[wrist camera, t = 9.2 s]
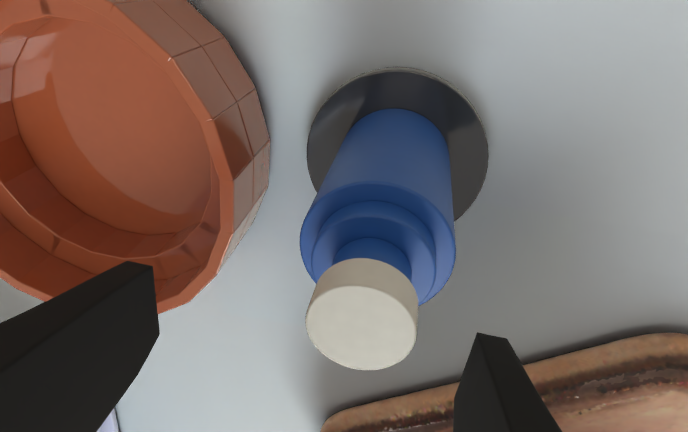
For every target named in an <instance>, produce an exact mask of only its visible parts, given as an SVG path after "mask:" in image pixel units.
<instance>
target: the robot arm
mask: <svg viewBox="0 0 688 432" xmlns="http://www.w3.org/2000/svg"><path fill="white" fill-rule="evenodd" d="M159 334H160V333H159V323H158V313H157V303H156V293H155V283H154V273H153V266H150V265H146V264H141V263H136V262H131V261H125V262H123V263H121V264H119V265H117V266H115V267H113V268H111V269H109V270H107V271H105V272H103V273H101V274H99V275H97V276H95V277H93V278H91V279H89V280H87V281H85V282H83V283H81V284H79V285H77V286H75V287H73V288H71V289H69V290H68V291H66V292H64V293H62V294H60V295H58V296H56V297H54V298H52V299H50V300H48V301H46V302H44V303H42V304H40V305H38V306H36V307H34V308H32V309H30V310H28V311H26V312H24V313H22V314H19V315H17V316H15V317H13V318H11V319H9V320H7V321H4V322H2V323H0V432H119V429H118V424H117V419H116V414H115V409H114V407H115V406H116V404H117V403H118V402H119V400H120V399H121V397H122V396H123V395H124V393H125V392H126V390H127V389H128V388H129V386H130V385H131V383H132V382H133V380H134V379H135V378H136V376H137V375H138V373H139V371H140V369H141V368H142V366H143V364H144V362H145V361H146V359H147V357H148V355H149V353H150V351H151V349H152V348H153V346H154V344H155V342H156V340H157V338H158V336H159ZM453 432H562V430H561V429H560V427H559V426H558V424H557V422H556V421H555V419H554V418H553V416H552V415H551V413H550V411H549V410H548V408H547V406H546V405H545V403H544V402H543V400H542V398H541V397H540V395H539V393H538V391H537V390H536V388H535V386H534V385H533V383H532V381H531V380H530V378H529V376H528V374H527V373H526V371H525V369H524V367H523V366H522V364H521V362H520V360H519V359H518V357H517V355H516V353H515V352H514V350H513V348H512V346H511V345H510V343H509V342H508V340H507V339H506V338H501V337H496V336H491V335H486V334H481V333H477V335H476V338H475V340H474V343H473V346H472V349H471V352H470V355H469V357H468V360H467V363H466V366H465V369H464V371H463V374H462V377H461V380H460V383H459V386H458V388H457V391H456V394H455V397H454V415H453Z"/></svg>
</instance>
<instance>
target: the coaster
mask: <svg viewBox="0 0 688 432" xmlns="http://www.w3.org/2000/svg"><path fill="white" fill-rule="evenodd" d="M384 109H405V110H409V111H412V112H415V113H418V114H420V115H421V116H423V117H425V118H426V119H428V120H429V121H431V122H432V123H433V124H434V125H435V126H436V127H437V128H438V130H439V131H440V132H441V134H442V135H443V137H444V139H445V141H446V144H447V147H448V151H449V159H450V173H451V187H452V201H453V215H454V221H455V220H457V219H458V218H459V217H460V216H462V215H463V214H464V212H465V211H466V210H467V209H468V208H469V207H470V206H471V204H472V203H473V202H474V200H475V199H476V197H477V196H478V194H479V192H480V190H481V188H482V185H483V183H484V180H485V177H486V172H487V168H488V144H487V139H486V135H485V131H484V127H483V125H482V122H481V120H480V117H479V115H478V114H477V112H476V110H475V108H474V107H473V105H472V104H471V103H470V101H469V100H468V99H467V97H466V96H465V95H464V94H463V93H462V92H461V91H460V90H458V89H457V88H456V87H455V86H453V85H452V84H451V83H449V82H448V81H446V80H444V79H442V78H441V77H439V76H437V75H434V74H432V73H429V72H427V71H423V70H419V69H415V68H407V67H386V68H381V69H375V70H372V71H369V72H366V73H363V74H360V75H358V76H356V77H354V78H352V79H350V80H349V81H347V82H346V83H344V84H343V85H341V86H340V87H339V88H338V89H337V90H336V91H335V92H334V93H333V94H332V95H331V96H330V97H329V98H328V99H327V101H326V102H325V103H324V104H323V106H322V107H321V109H320V110H319V112H318V113H317V115H316V117H315V119H314V122H313V124H312V126H311V130H310V133H309V136H308V143H307V164H308V170H309V174H310V178H311V180H312V183H313V185H314V188H315V190H316V192H317V193H318V191H319V189H320V187H321V185H322V183H323V181H324V179H325V177H326V175H327V173H328V171H329V169H330V167H331V165H332V163H333V161H334V159H335V157H336V155H337V153H338V151H339V149H340V147H341V145H342V143H343V141H344V139H345V137H346V135H347V133H348V132H349V130H350V129H351V128H352V127H353V126H354V124H355V123H357V122H358V121H359V120H360V119H362V118H363V117H365V116H366V115H368V114H371V113H373V112H376V111H379V110H384Z"/></svg>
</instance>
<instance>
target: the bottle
mask: <svg viewBox="0 0 688 432" xmlns="http://www.w3.org/2000/svg"><path fill="white" fill-rule="evenodd" d="M300 250H301V256H302V259H303V262H304V265H305V267H306V269H307V271H308V273H309V275H310V276H311V278H312V279H313V280H314V282H315V283H316V287H315V290H314V293H313V295H312V298H311V301H310V304H309V306H308V309H307V312H306V321H305V323H306V329H307V332H308V335H309V337H310V339H311V341H312V343H313V344H314V346H315V347H316V348H317V349H318V350H319V351H320V352H321V353H322V354H323V355H325V356H326V357H327V358H329V359H330V360H332V361H334V362H336V363H338V364H340V365H343V366H345V367H349V368H352V369H358V370H378V369H383V368H387V367H390V366H393V365H395V364H397V363H398V362H400V361H401V360H403V359H404V358H405V357H406V356H407V355H408V354H409V353H410V351H411V350H412V348H413V347H414V344H415V342H416V338H417V324H418V306H420V305H421V304H423V303H425V302H427V301H428V300H430V299H431V298H432V297H434V296H435V295H436V294H437V293H438V292H439V291H440V290H441V289H442V288H443V286H444V285H445V284H446V282H447V281H448V279H449V277H450V275H451V273H452V270H453V268H454V263H455V258H456V244H455V230H454V215H453V201H452V187H451V173H450V159H449V151H448V147H447V144H446V141H445V139H444V137H443V135H442V134H441V132H440V131H439V130H438V128H437V127H436V126H435V125H434V124H433V123H432V122H431V121H429V120H428V119H426V118H425V117H423V116H421V115H420V114H418V113H415V112H412V111H409V110H405V109H384V110H379V111H376V112H373V113H371V114H368V115H366V116H365V117H363V118H362V119H360V120H359V121H358V122H357V123H355V124H354V126H353V127H352V128H351V129H350V130H349V132H348V133H347V135H346V137H345V139H344V141H343V143H342V145H341V147H340V149H339V151H338V153H337V155H336V157H335V159H334V161H333V163H332V165H331V167H330V169H329V171H328V173H327V175H326V177H325V179H324V181H323V183H322V185H321V187H320V189H319V191H318V193H317V195H316V197H315V199H314V201H313V203H312V205H311V207H310V209H309V211H308V213H307V215H306V217H305V219H304V222H303V225H302V228H301V233H300Z"/></svg>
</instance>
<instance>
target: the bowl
mask: <svg viewBox="0 0 688 432" xmlns="http://www.w3.org/2000/svg"><path fill="white" fill-rule="evenodd" d="M269 155H270V140H269V134H268V131H267V127H266V124H265V120H264V116H263V113H262V109H261V105H260V102H259V98H258V95H257V91H256V89H255V86H254V84H253V82H252V81H251V79H250V77H249V76H248V74H247V72H246V71H245V69H244V67H243V66H242V64H241V63H240V61H239V59H238V58H237V56H236V54H235V53H234V51H233V49H232V48H231V46H230V44H229V43H228V41H227V40H226V38H224V36H223V35H222V34H221V33H220V32H219V31H218V30H217V29H216V28H215V27H214V26H213V25H212V24H211V23H210V22H209V21H208V20H207V19H206V18H204V17H203V16H202V15H201V14H200V13H199V12H198V11H197V10H196V9H195V8H194V7H193V6H192V5H191V4H190V3H189V2H188V1H187V0H0V278H1V279H3V280H4V281H6V282H7V283H8V284H10V285H11V286H13V287H14V288H16V289H18V290H20V291H22V292H25V293H27V294H29V295H31V296H33V297H36V298H38V299H40V300H42V301H44V302H46V301H48V300H50V299H52V298H54V297H56V296H58V295H60V294H62V293H64V292H66V291H68V290H69V289H71V288H73V287H75V286H77V285H79V284H81V283H83V282H85V281H87V280H89V279H91V278H93V277H95V276H97V275H99V274H101V273H103V272H105V271H107V270H109V269H111V268H113V267H115V266H117V265H119V264H121V263H123V262H125V261H131V262H136V263H141V264H146V265H150V266H153V273H154V283H155V293H156V303H157V313H158V314H160V313H163V312H165V311H168V310H170V309H173V308H175V307H178V306H181V305H183V304H186V303H188V302H190V301H191V300H192V299H193V298H194V297H195V296H196V295H197V294H198V293H199V292H200V291H201V290H202V289H203V288H204V287H205V286H206V285H207V284H208V283H209V282H210V281H211V280H212V279H213V278H214V277H215V276H216V275H217V274H218V273H219V271H220V270H221V268H222V267H223V265H224V264H225V262H226V261H227V259H228V258H229V256H230V255H231V254H232V252H233V251H234V249H235V248H236V246H237V245H238V243H239V242H240V240H241V239H242V238H243V236H244V235H245V233H246V232H247V230H248V229H249V227H250V226H251V224H252V223H253V221H254V219H255V216H256V214H257V212H258V209H259V207H260V204H261V202H262V200H263V197H264V195H265V193H266V190H267V188H268V179H269Z"/></svg>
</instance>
